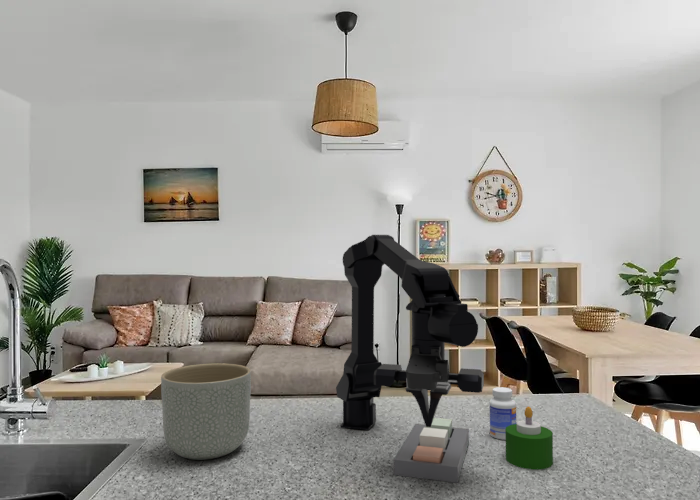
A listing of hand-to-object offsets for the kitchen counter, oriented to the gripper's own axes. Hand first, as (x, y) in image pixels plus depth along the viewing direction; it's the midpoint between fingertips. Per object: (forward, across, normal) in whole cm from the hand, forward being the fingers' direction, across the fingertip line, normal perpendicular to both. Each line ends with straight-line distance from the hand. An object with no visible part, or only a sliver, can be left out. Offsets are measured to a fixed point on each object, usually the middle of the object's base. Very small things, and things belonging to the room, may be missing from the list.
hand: (428, 426), depth 94 cm
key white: (+6, 0, +7) cm, 9 cm away
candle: (+8, +17, +10) cm, 21 cm away
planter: (+8, -43, -3) cm, 44 cm away
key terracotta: (+7, 0, 0) cm, 7 cm away
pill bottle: (+8, +12, +22) cm, 26 cm away
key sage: (+6, 0, +13) cm, 14 cm away
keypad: (+8, 0, +7) cm, 10 cm away
